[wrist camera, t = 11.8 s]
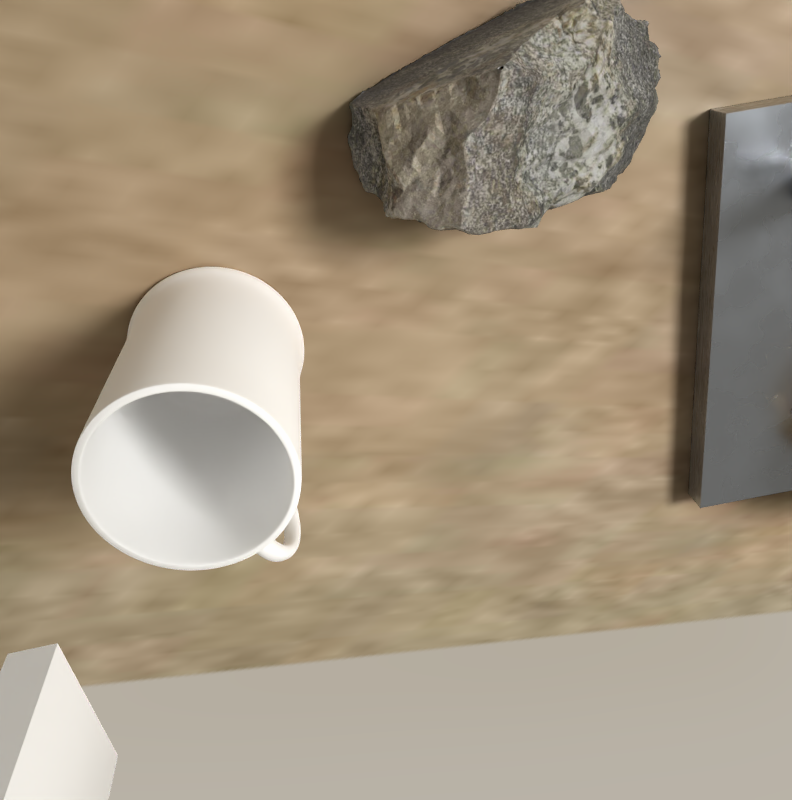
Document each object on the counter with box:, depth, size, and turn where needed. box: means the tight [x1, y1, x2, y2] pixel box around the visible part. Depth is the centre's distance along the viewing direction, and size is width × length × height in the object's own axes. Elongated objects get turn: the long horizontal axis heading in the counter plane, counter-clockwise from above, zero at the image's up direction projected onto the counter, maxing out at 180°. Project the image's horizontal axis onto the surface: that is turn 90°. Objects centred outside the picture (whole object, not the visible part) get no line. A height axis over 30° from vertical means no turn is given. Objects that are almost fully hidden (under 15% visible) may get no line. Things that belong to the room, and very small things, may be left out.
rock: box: [348, 0, 661, 235], centre depth 32 cm, size 13×9×6 cm, turn 115°
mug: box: [71, 267, 304, 570], centre depth 33 cm, size 12×8×12 cm
